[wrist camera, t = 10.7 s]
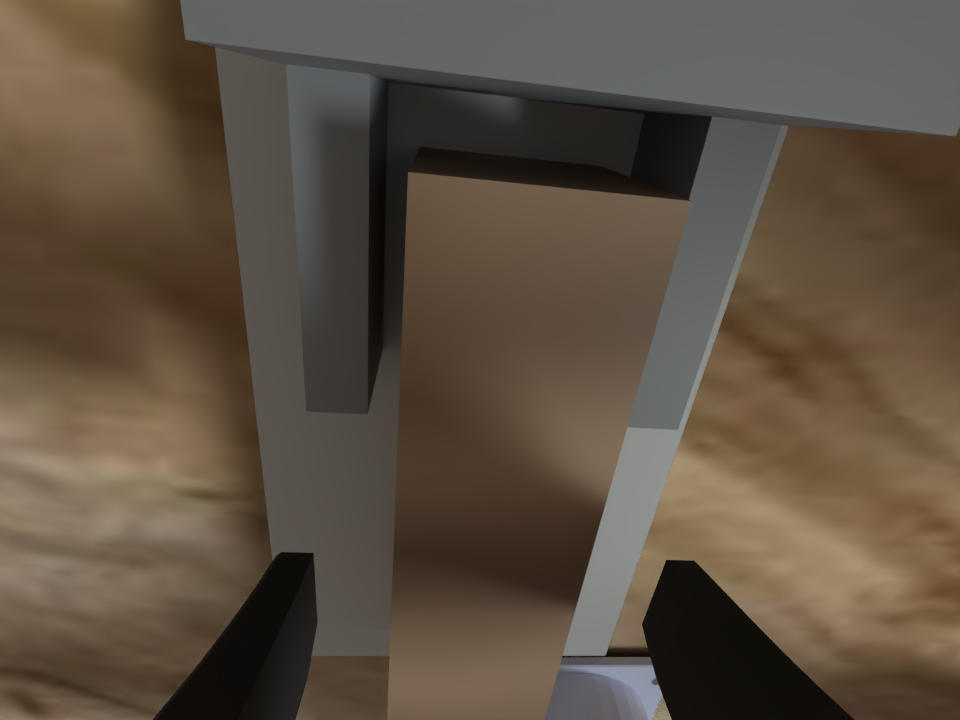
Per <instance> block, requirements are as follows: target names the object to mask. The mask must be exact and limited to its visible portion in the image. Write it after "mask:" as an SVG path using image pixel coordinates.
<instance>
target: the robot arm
mask: <svg viewBox="0 0 960 720" xmlns="http://www.w3.org/2000/svg"><path fill="white" fill-rule="evenodd" d="M317 623H318V620H317V603H316V585H315V568H314V553H300V552H281V553H279V554H278V555H277V556H276V557H275V558H274V560H273V561H272V563H271V564H270V566H269V568H268V569H267V571H266V572H265V574H264V575H263V577H262V578H261V580H260V581H259V583H258V584H257V586H256V587H255V589H254V590H253V592H252V593H251V594H250V596H249V597H248V599H247V600H246V602H245V603H244V604H243V606H242V607H241V609H240V610H239V611H238V613H237V614H236V616H235V617H234V618H233V620H232V621H231V622H230V624H229V625H228V626H227V628H226V629H225V630H224V632H223V633H222V634H221V636H220V637H219V638H218V639H217V641H216V642H215V643H214V645H213V646H212V647H211V649H210V650H209V651H208V653H207V654H206V655H205V657H204V658H203V659H202V660H201V662H200V663H199V664H198V666H197V667H196V668H195V669H194V671H193V672H192V673H191V674H190V675H189V677H188V678H187V679H186V680H185V682H184V683H183V684H182V685H181V686H180V688H179V689H178V690H177V691H176V692H175V694H174V695H173V696H172V697H171V698H170V700H169V701H168V702H167V703H166V704H165V706H164V707H163V708H162V709H161V710H160V712H159V713H158V714H157V715H156V716H155V718H154V719H153V720H295V719H296V715H297V712H298V709H299V705H300V702H301V698H302V695H303V691H304V688H305V684H306V681H307V676H308V671H309V666H310V661H311V656H312V650H313V645H314V640H315V634H316V629H317ZM642 626H643V630H644V634H645V638H646V642H647V646H648V650H649V654H650V657H562V659H561V663H560V666H559V670H558V673H557V677H556V680H555V684H554V687H553V691H552V694H551V698H550V701H549V705H548V708H547V712H546V715H545V719H544V720H651V719H652V717H653V715H654V713H655V710H656V708H657V706H658V704H659V702H660V699H661V697H662V695H663V698H664V700H665V703H666V705H667V708H668V711H669V713H670V716H671V719H672V720H854V719H853V718H852V717H851V716H850V715H849V714H847V713H846V712H845V711H844V710H843V709H842V708H841V707H840V706H839V705H838V704H837V703H836V702H835V701H833V700H832V699H831V698H830V697H829V696H828V695H827V694H826V693H825V692H824V691H823V690H822V689H821V688H819V687H818V686H817V685H816V684H815V683H814V682H813V681H812V680H811V679H810V678H809V677H808V676H807V675H806V674H805V673H804V672H803V671H802V670H801V669H800V668H799V667H798V666H797V665H796V664H795V663H794V662H793V661H792V660H791V659H790V658H789V657H788V656H786V655H785V654H784V653H783V652H782V651H781V650H780V648H779V647H778V646H777V645H776V644H775V643H774V642H773V641H772V640H771V639H770V638H769V637H768V636H767V635H766V634H765V633H764V632H763V631H762V630H761V629H760V628H759V627H758V626H757V625H756V624H755V623H754V622H753V621H752V620H751V619H750V618H749V617H748V616H747V615H746V614H745V613H744V612H743V611H742V610H741V609H740V608H739V607H738V605H737V604H736V603H735V602H734V601H733V600H732V599H731V598H730V597H729V596H728V595H727V594H726V593H725V592H724V591H723V590H722V589H721V588H720V587H719V586H718V585H717V584H716V583H715V582H714V580H713V579H712V578H711V577H710V576H709V575H708V574H707V573H706V572H705V571H704V570H703V569H702V568H701V567H700V566H699V565H698V564H697V563H696V562H695V561H683V560H666V563H665V565H664V568H663V571H662V573H661V576H660V579H659V581H658V584H657V587H656V589H655V592H654V594H653V597H652V600H651V602H650V605H649V608H648V610H647V613H646V616H645V618H644V621H643V624H642Z"/></svg>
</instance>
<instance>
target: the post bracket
mask: <svg viewBox="0 0 960 720" xmlns="http://www.w3.org/2000/svg"><path fill="white" fill-rule="evenodd" d="M180 2H181V10H182V17H183V25H184V32H185V40H189V41H193V42H197V43H201V44H205V45H209V46H213V47H215V53H216V62H217V71H218V80H219V88H220V97H221V106H222V115H223V124H224V133H225V142H226V151H227V160H228V169H229V178H230V187H231V196H232V205H233V214H234V223H235V232H236V241H237V249H238V258H239V267H240V276H241V285H242V294H243V303H244V312H245V321H246V330H247V339H248V348H249V357H250V366H251V375H252V384H253V393H254V402H255V410H256V419H257V428H258V437H259V446H260V455H261V464H262V473H263V482H264V491H265V500H266V509H267V518H268V527H269V536H270V545H271V554H272V561H273V560H274V558H275V557H276V556H277V555H278V554H279V553H281V552H300V553H314V568H315V585H316V603H317V620H318V623H317V629H316V634H315V640H314V645H313V650H312V656H389V655H390V629H391V603H392V577H393V551H394V525H395V499H396V473H397V447H398V421H399V395H400V369H401V343H402V317H403V291H404V265H405V239H406V213H407V186H408V171H409V169H410V167H411V165H412V163H413V161H414V159H415V157H416V154H417V152H418V150H419V148H420V147H428V148H437V149H446V150H456V151H465V152H474V153H483V154H493V155H502V156H511V157H520V158H530V159H539V160H548V161H558V162H567V163H576V164H585V165H595V166H602V167H605V168H607V169H610V170H613V171H615V172H618V173H620V174H623V175H625V176H628V177H631V178H633V179H636V180H638V181H641V182H644V183H646V184H649V185H651V186H654V187H657V188H659V189H662V190H664V191H667V192H670V193H672V194H675V195H677V196H680V197H683V198H685V199H688V200H690V201H692V202H691V206H690V209H689V213H688V216H687V220H686V223H685V227H684V230H683V234H682V237H681V241H680V244H679V248H678V251H677V255H676V259H675V262H674V266H673V269H672V273H671V276H670V280H669V283H668V287H667V290H666V294H665V297H664V301H663V304H662V308H661V311H660V315H659V318H658V322H657V325H656V329H655V332H654V336H653V339H652V343H651V346H650V350H649V353H648V357H647V360H646V364H645V367H644V371H643V374H642V378H641V382H640V385H639V389H638V392H637V396H636V399H635V403H634V406H633V410H632V413H631V417H630V420H629V424H628V427H627V431H626V434H625V438H624V441H623V445H622V448H621V452H620V455H619V459H618V462H617V466H616V469H615V473H614V476H613V480H612V483H611V487H610V490H609V494H608V497H607V501H606V505H605V508H604V512H603V515H602V519H601V522H600V526H599V529H598V533H597V536H596V540H595V543H594V547H593V550H592V554H591V557H590V561H589V564H588V568H587V571H586V575H585V578H584V582H583V585H582V589H581V592H580V596H579V599H578V603H577V606H576V610H575V613H574V617H573V620H572V624H571V627H570V631H569V635H568V638H567V642H566V645H565V649H564V652H563V656H606V653H607V650H608V647H609V644H610V641H611V638H612V635H613V632H614V630H615V627H616V624H617V621H618V618H619V615H620V612H621V609H622V607H623V604H624V601H625V598H626V595H627V592H628V589H629V586H630V584H631V581H632V578H633V575H634V572H635V569H636V566H637V563H638V560H639V558H640V555H641V552H642V549H643V546H644V543H645V540H646V537H647V535H648V532H649V529H650V526H651V523H652V520H653V517H654V514H655V511H656V509H657V506H658V503H659V500H660V497H661V494H662V491H663V488H664V486H665V483H666V480H667V477H668V474H669V471H670V468H671V465H672V462H673V460H674V457H675V454H676V451H677V448H678V445H679V442H680V439H681V437H682V434H683V431H684V428H685V425H686V422H687V419H688V416H689V413H690V411H691V408H692V405H693V402H694V399H695V396H696V393H697V390H698V388H699V385H700V382H701V379H702V376H703V373H704V370H705V367H706V364H707V362H708V359H709V356H710V353H711V350H712V347H713V344H714V341H715V339H716V336H717V333H718V330H719V327H720V324H721V321H722V318H723V315H724V313H725V310H726V307H727V304H728V301H729V298H730V295H731V292H732V290H733V287H734V284H735V281H736V278H737V275H738V272H739V269H740V266H741V264H742V261H743V258H744V255H745V252H746V249H747V246H748V243H749V241H750V238H751V235H752V232H753V229H754V226H755V223H756V220H757V217H758V215H759V212H760V209H761V206H762V203H763V200H764V197H765V194H766V192H767V189H768V186H769V183H770V180H771V177H772V174H773V171H774V168H775V166H776V163H777V160H778V157H779V154H780V151H781V148H782V145H783V143H784V140H785V137H786V134H787V131H788V128H789V126H797V127H813V128H829V129H845V130H861V131H877V132H893V133H909V134H925V135H941V136H956V134H957V132H958V130H959V128H960V0H180Z"/></svg>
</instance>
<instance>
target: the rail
mask: <svg viewBox="0 0 960 720" xmlns="http://www.w3.org/2000/svg"><path fill="white" fill-rule="evenodd" d="M691 202H692V201H690V200H688V199H685V198H683V197H680V196H677V195H675V194H672V193H670V192H667V191H664V190H662V189H659V188H657V187H654V186H651V185H649V184H646V183H644V182H641V181H638V180H636V179H633V178H631V177H628V176H625V175H623V174H620V173H618V172H615V171H613V170H610V169H607V168H605V167H602V166H595V165H585V164H576V163H567V162H558V161H548V160H539V159H530V158H520V157H511V156H502V155H493V154H483V153H474V152H465V151H456V150H446V149H437V148H428V147H420V148H419V150H418V152H417V154H416V157H415V159H414V161H413V163H412V165H411V167H410V169H409V171H408V186H407V213H406V239H405V265H404V291H403V317H402V343H401V369H400V395H399V421H398V447H397V473H396V499H395V525H394V551H393V577H392V603H391V629H390V655H389V681H388V707H387V720H544V719H545V715H546V712H547V708H548V705H549V701H550V698H551V694H552V691H553V687H554V684H555V680H556V677H557V673H558V670H559V666H560V663H561V659H562V656H563V652H564V649H565V645H566V642H567V638H568V635H569V631H570V627H571V624H572V620H573V617H574V613H575V610H576V606H577V603H578V599H579V596H580V592H581V589H582V585H583V582H584V578H585V575H586V571H587V568H588V564H589V561H590V557H591V554H592V550H593V547H594V543H595V540H596V536H597V533H598V529H599V526H600V522H601V519H602V515H603V512H604V508H605V505H606V501H607V497H608V494H609V490H610V487H611V483H612V480H613V476H614V473H615V469H616V466H617V462H618V459H619V455H620V452H621V448H622V445H623V441H624V438H625V434H626V431H627V427H628V424H629V420H630V417H631V413H632V410H633V406H634V403H635V399H636V396H637V392H638V389H639V385H640V382H641V378H642V374H643V371H644V367H645V364H646V360H647V357H648V353H649V350H650V346H651V343H652V339H653V336H654V332H655V329H656V325H657V322H658V318H659V315H660V311H661V308H662V304H663V301H664V297H665V294H666V290H667V287H668V283H669V280H670V276H671V273H672V269H673V266H674V262H675V259H676V255H677V251H678V248H679V244H680V241H681V237H682V234H683V230H684V227H685V223H686V220H687V216H688V213H689V209H690V206H691Z"/></svg>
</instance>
